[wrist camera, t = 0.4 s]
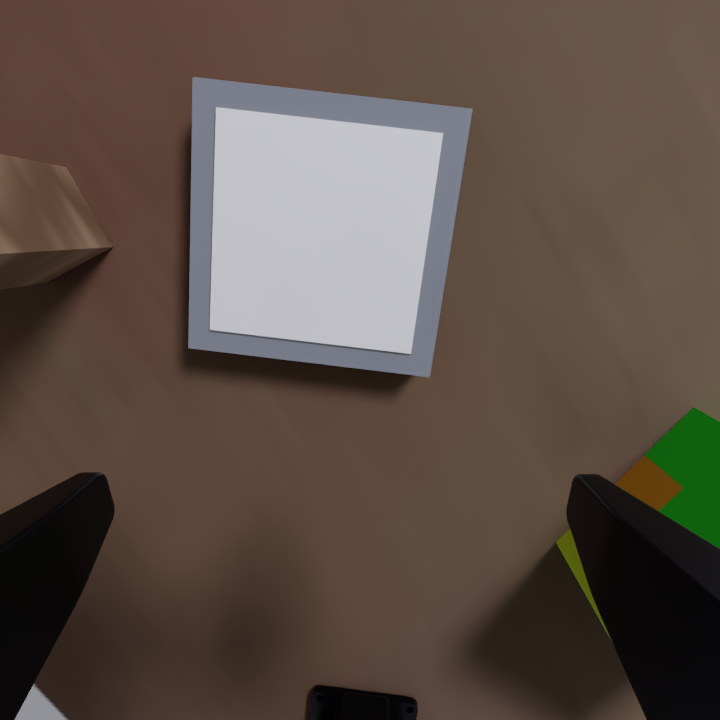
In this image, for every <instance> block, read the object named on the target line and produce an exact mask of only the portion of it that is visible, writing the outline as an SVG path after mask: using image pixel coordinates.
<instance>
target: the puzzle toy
mask: <svg viewBox="0 0 720 720" xmlns="http://www.w3.org/2000/svg"><path fill="white" fill-rule="evenodd" d="M615 485H616V486H618V487H620V488H621V489H623V490H625V491H626V492H628V493H630V494H631V495H633V496H634V497H636V498H638V499H639V500H641V501H643V502H644V503H646V504H647V505H649V506H651V507H652V508H654V509H656V510H657V511H659V512H660V513H662V514H664V515H665V516H667V517H669V518H670V519H672V520H674V521H675V522H677V523H678V524H680V525H682V526H683V527H685V528H687V529H688V530H690V531H691V532H693V533H695V534H696V535H698V536H700V537H701V538H703V539H704V540H706V541H708V542H709V543H711V544H713V545H714V546H716V547H718V548H719V549H720V422H719V421H717V420H715V419H713V418H712V417H710V416H708V415H706V414H704V413H703V412H701V411H699V410H697V409H696V408H694V407H693V408H692V409H691V410H690V411H689V412H688V413H687V414H686V415H685V416H684V417H683V418H682V419H681V420H680V421H679V422H678V423H677V424H676V425H675V426H674V427H673V428H672V429H671V430H670V431H669V432H668V433H667V434H666V435H665V436H664V437H663V438H662V439H661V440H660V441H659V442H658V443H657V444H656V445H655V446H654V447H652V448H651V449H650V450H649V451H648V452H647V453H646V454H645V455H644V456H643V457H642V458H641V459H640V460H639V461H638V462H637V463H636V464H635V465H634V466H633V467H632V468H631V469H630V470H629V471H628V472H627V473H626V474H625V475H624V476H623V477H622V478H621V479H620V480H619V481H618V482H617V483H616V484H615ZM556 544H557V545H558V547H559V549H560V551H561V552H562V554H563V556H564V558H565V560H566V561H567V563H568V565H569V567H570V568H571V570H572V572H573V574H574V576H575V577H576V579H577V581H578V583H579V584H580V586H581V588H582V590H583V591H584V593H585V595H586V597H587V599H588V600H589V602H590V604H591V606H592V607H593V609H594V611H595V613H596V615H597V616H598V618H599V620H600V622H601V623H602V625H603V627H604V629H605V631H606V632H607V634H608V631H607V629H606V627H605V625H604V622H603V620H602V618H601V616H600V614H599V611H598V609H597V606H596V604H595V602H594V599H593V597H592V594H591V591H590V588H589V585H588V582H587V579H586V576H585V573H584V570H583V567H582V564H581V561H580V558H579V555H578V552H577V548H576V545H575V542H574V539H573V536H572V533H571V530H570V529H569V530H568V531H567V532H566V533H565V534H564V535H563V536H562V537H560V538H559V539H558V540H557V541H556ZM608 636H609V634H608ZM609 638H610V636H609ZM610 639H611V638H610ZM611 641H612V640H611Z"/></svg>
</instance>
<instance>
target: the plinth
mask: <svg viewBox="0 0 720 720" xmlns="http://www.w3.org/2000/svg"><path fill="white" fill-rule="evenodd" d="M472 110H473V109H470V108H461V107H452V106H444V105H435V104H426V103H417V102H408V101H400V100H391V99H382V98H373V97H364V96H356V95H347V94H338V93H329V92H320V91H312V90H303V89H294V88H285V87H276V86H268V85H259V84H250V83H241V82H232V81H223V80H215V79H206V78H197V77H193V85H192V148H191V210H190V273H189V335H188V348H191V349H199V350H208V351H216V352H224V353H233V354H241V355H249V356H257V357H266V358H274V359H282V360H291V361H299V362H307V363H316V364H324V365H332V366H340V367H349V368H357V369H365V370H374V371H382V372H390V373H399V374H407V375H415V376H423V377H430V373H431V367H432V360H433V354H434V348H435V342H436V335H437V329H438V323H439V317H440V310H441V304H442V298H443V291H444V285H445V279H446V273H447V266H448V260H449V254H450V248H451V241H452V235H453V229H454V223H455V216H456V210H457V204H458V197H459V191H460V185H461V179H462V172H463V166H464V160H465V154H466V147H467V141H468V135H469V129H470V122H471V116H472Z"/></svg>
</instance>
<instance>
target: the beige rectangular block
mask: <svg viewBox="0 0 720 720" xmlns="http://www.w3.org/2000/svg"><path fill="white" fill-rule="evenodd" d="M112 247H113V246H112V244H111V243H110V241H109V239H108V238H107V236H106V234H105V232H104V231H103V229H102V227H101V226H100V224H99V222H98V221H97V219H96V217H95V215H94V214H93V212H92V210H91V209H90V207H89V205H88V204H87V202H86V200H85V198H84V197H83V195H82V193H81V192H80V190H79V188H78V187H77V185H76V183H75V181H74V180H73V178H72V176H71V175H70V173H69V171H68V170H67V168H66V167H62V166H57V165H52V164H47V163H42V162H37V161H32V160H27V159H22V158H18V157H13V156H8V155H3V154H0V290H3V289H9V288H16V287H22V286H29V285H35V284H42V283H47V282H49V281H51V280H53V279H55V278H57V277H58V276H60V275H62V274H64V273H66V272H68V271H70V270H71V269H73V268H75V267H77V266H79V265H81V264H83V263H84V262H86V261H88V260H90V259H92V258H94V257H96V256H97V255H99V254H101V253H103V252H105V251H107V250H109V249H110V248H112Z"/></svg>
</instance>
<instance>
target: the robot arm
mask: <svg viewBox="0 0 720 720" xmlns="http://www.w3.org/2000/svg"><path fill="white" fill-rule="evenodd" d="M566 513H567V520H568V524H569V527H570V530H571V533H572V536H573V539H574V542H575V545H576V548H577V552H578V555H579V558H580V561H581V564H582V567H583V570H584V573H585V576H586V579H587V582H588V585H589V588H590V591H591V594H592V597H593V599H594V602H595V604H596V606H597V609H598V611H599V614H600V616H601V618H602V620H603V622H604V625H605V627H606V629H607V631H608V634H609V636H610V638H611V640H612V643H613V645H614V647H615V649H616V652H617V654H618V656H619V658H620V661H621V663H622V665H623V667H624V670H625V672H626V674H627V676H628V679H629V681H630V683H631V685H632V688H633V690H634V692H635V694H636V697H637V699H638V701H639V703H640V706H641V708H642V710H643V712H644V715H645V717H646V719H647V720H720V549H719V548H718V547H716V546H714V545H713V544H711V543H709V542H708V541H706V540H704V539H703V538H701V537H700V536H698V535H696V534H695V533H693V532H691V531H690V530H688V529H687V528H685V527H683V526H682V525H680V524H678V523H677V522H675V521H674V520H672V519H670V518H669V517H667V516H665V515H664V514H662V513H660V512H659V511H657V510H656V509H654V508H652V507H651V506H649V505H647V504H646V503H644V502H643V501H641V500H639V499H638V498H636V497H634V496H633V495H631V494H630V493H628V492H626V491H625V490H623V489H621V488H620V487H618V486H616V485H615V484H613V483H612V482H610V481H608V480H607V479H605V478H603V477H602V476H600V475H597V474H578V475H576V476H575V477H574V479H573V481H572V486H571V490H570V495H569V499H568V504H567V511H566ZM113 517H114V503H113V499H112V496H111V492H110V489H109V485H108V481H107V478H106V476H105V475H104V474H102V473H99V472H84V473H79V474H77V475H75V476H73V477H71V478H69V479H67V480H65V481H64V482H62V483H60V484H58V485H56V486H54V487H52V488H50V489H48V490H46V491H45V492H43V493H41V494H39V495H37V496H35V497H33V498H31V499H29V500H28V501H26V502H24V503H22V504H20V505H18V506H16V507H14V508H12V509H11V510H9V511H7V512H5V513H3V514H1V515H0V720H14V719H15V717H16V715H17V714H18V712H19V710H20V708H21V706H22V704H23V702H24V700H25V699H26V697H27V695H28V693H29V691H30V689H31V687H32V686H33V684H34V682H35V680H36V678H37V676H38V674H39V673H40V671H41V669H42V667H43V665H44V663H45V661H46V659H47V658H48V656H49V654H50V652H51V650H52V648H53V646H54V645H55V643H56V641H57V639H58V637H59V635H60V633H61V632H62V630H63V628H64V626H65V624H66V622H67V620H68V618H69V617H70V615H71V613H72V611H73V609H74V607H75V605H76V603H77V601H78V599H79V597H80V596H81V594H82V591H83V589H84V587H85V585H86V583H87V580H88V578H89V575H90V573H91V571H92V568H93V566H94V563H95V561H96V559H97V556H98V554H99V551H100V549H101V547H102V544H103V542H104V539H105V537H106V534H107V532H108V530H109V527H110V525H111V522H112V520H113ZM417 712H418V709H417V701H416V700H415V699H414V698H410V697H403V696H395V695H387V694H380V693H372V692H364V691H356V690H349V689H341V688H333V687H325V686H318V687H315V688H314V690H313V695H312V703H311V712H310V720H416V717H417Z"/></svg>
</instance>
